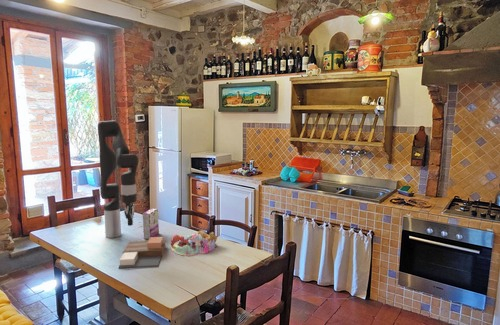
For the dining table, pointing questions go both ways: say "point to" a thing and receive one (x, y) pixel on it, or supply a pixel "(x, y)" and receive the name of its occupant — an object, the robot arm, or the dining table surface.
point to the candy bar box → (150, 223)
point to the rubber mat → (144, 262)
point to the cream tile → (128, 258)
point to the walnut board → (144, 249)
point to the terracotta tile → (155, 242)
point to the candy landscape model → (194, 244)
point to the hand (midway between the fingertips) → (130, 225)
